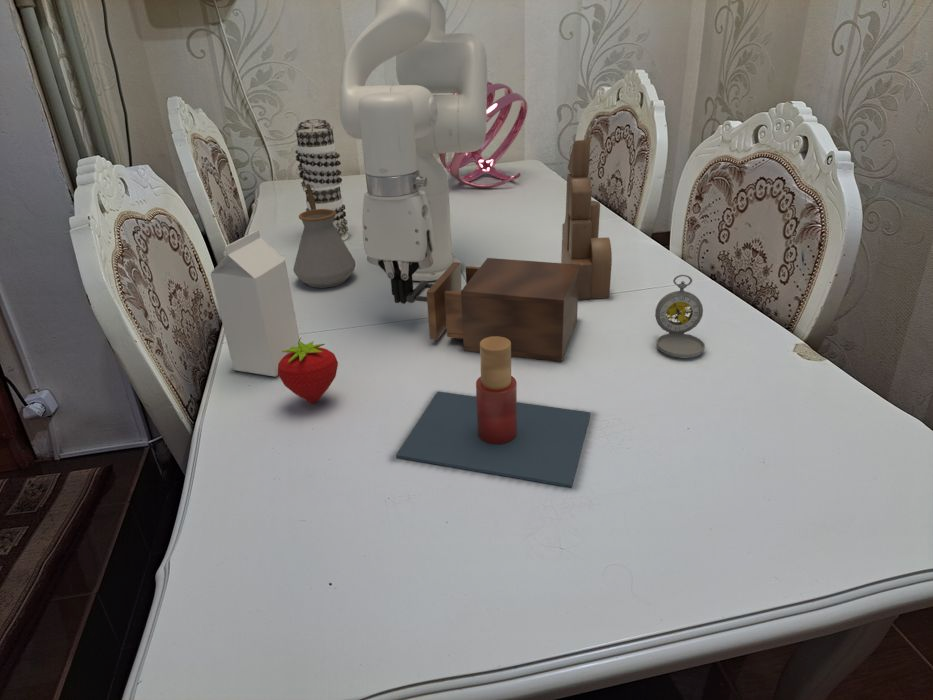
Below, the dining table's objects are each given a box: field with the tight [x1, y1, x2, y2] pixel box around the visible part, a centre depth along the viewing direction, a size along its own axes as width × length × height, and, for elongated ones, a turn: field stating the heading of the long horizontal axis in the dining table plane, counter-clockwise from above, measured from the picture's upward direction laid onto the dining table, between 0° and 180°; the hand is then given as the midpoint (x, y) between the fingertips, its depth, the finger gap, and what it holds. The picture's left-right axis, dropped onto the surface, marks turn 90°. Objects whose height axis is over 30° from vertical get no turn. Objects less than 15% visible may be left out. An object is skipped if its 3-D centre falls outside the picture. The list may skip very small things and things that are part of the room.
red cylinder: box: [475, 336, 518, 444], centre depth 73 cm, size 5×5×12 cm
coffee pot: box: [292, 184, 356, 289], centre depth 123 cm, size 21×12×15 cm, turn 17°
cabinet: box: [461, 257, 580, 363], centre depth 97 cm, size 15×14×10 cm
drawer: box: [406, 262, 481, 341], centre depth 99 cm, size 18×12×8 cm
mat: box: [395, 391, 591, 488], centre depth 76 cm, size 20×14×1 cm
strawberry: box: [277, 337, 339, 404], centre depth 82 cm, size 6×8×10 cm
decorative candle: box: [294, 118, 349, 241], centre depth 139 cm, size 9×9×25 cm
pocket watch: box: [654, 274, 706, 359], centre depth 92 cm, size 8×8×10 cm
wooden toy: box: [560, 139, 613, 301], centre depth 110 cm, size 16×7×25 cm, turn 1°
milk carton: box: [210, 229, 301, 378], centre depth 90 cm, size 7×7×19 cm
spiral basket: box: [437, 81, 528, 189], centre depth 177 cm, size 28×28×27 cm
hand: (403, 299), depth 102 cm, fingers closed
